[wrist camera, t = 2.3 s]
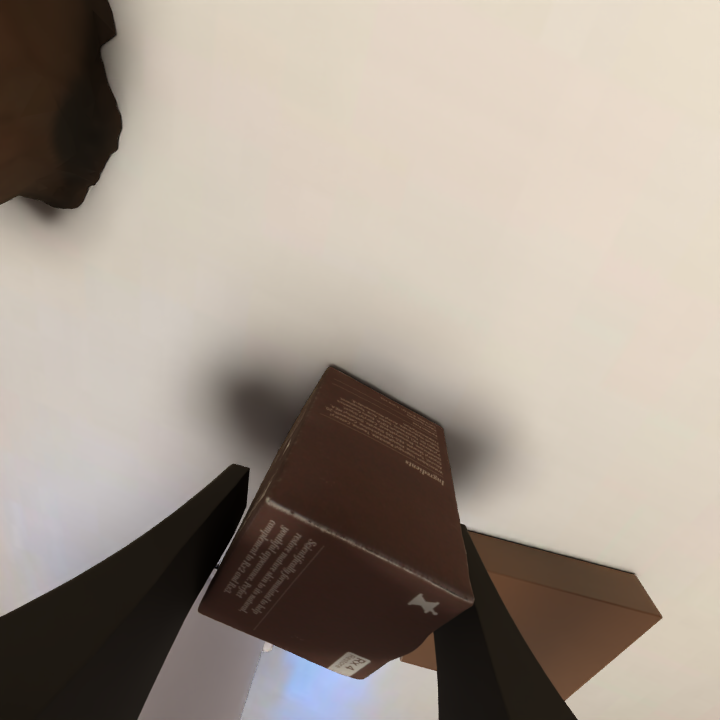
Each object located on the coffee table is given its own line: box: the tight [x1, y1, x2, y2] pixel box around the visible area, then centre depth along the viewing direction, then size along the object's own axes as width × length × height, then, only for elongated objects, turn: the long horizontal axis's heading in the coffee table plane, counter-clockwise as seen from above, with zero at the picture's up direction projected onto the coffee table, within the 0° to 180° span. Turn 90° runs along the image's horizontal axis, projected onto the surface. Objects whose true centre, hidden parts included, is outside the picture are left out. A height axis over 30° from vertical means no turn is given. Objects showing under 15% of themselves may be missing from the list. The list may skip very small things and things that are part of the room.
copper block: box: [400, 531, 662, 701], centre depth 18 cm, size 10×10×2 cm
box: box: [198, 367, 474, 679], centre depth 12 cm, size 6×6×7 cm
